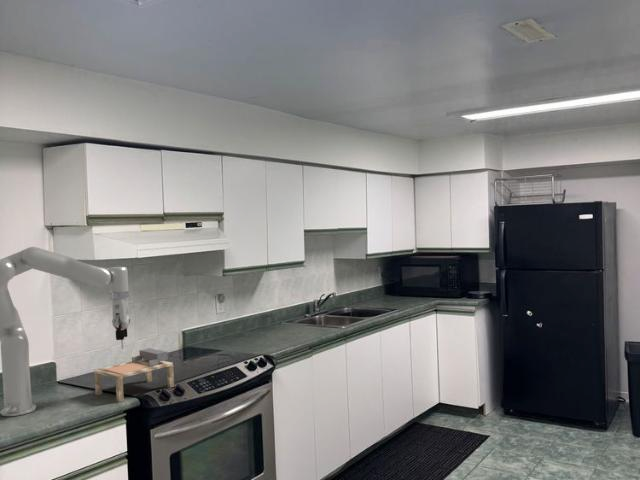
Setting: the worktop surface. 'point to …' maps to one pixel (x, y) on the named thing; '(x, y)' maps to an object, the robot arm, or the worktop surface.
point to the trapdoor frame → (120, 377)
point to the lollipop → (123, 325)
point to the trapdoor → (144, 354)
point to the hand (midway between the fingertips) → (121, 337)
